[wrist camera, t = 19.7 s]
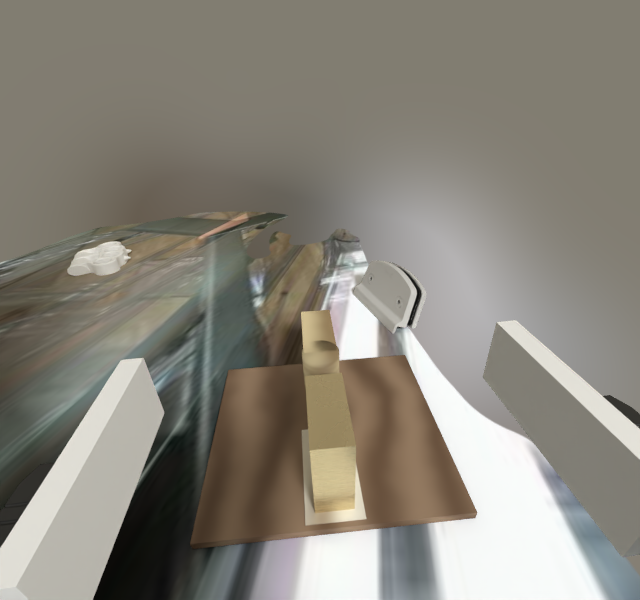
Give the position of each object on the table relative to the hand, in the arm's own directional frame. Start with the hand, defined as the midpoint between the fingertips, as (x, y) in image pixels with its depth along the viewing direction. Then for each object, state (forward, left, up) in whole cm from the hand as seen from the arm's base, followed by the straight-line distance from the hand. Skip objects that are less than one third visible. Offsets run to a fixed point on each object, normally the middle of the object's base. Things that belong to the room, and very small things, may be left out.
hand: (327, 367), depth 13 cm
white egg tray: (-55, +81, -29) cm, 102 cm away
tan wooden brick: (+1, +13, -27) cm, 30 cm away
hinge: (+16, +47, -28) cm, 57 cm away
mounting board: (+1, +19, -28) cm, 34 cm away
